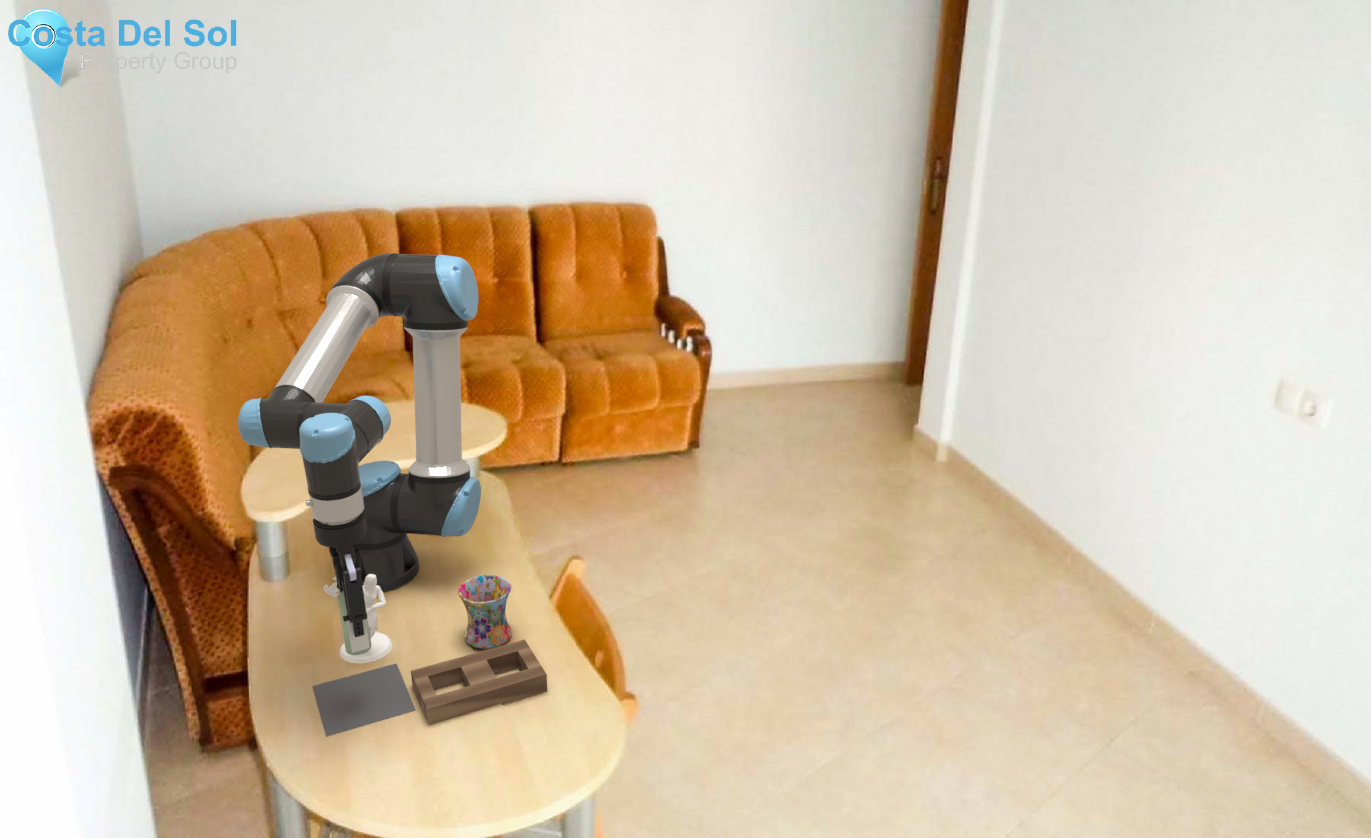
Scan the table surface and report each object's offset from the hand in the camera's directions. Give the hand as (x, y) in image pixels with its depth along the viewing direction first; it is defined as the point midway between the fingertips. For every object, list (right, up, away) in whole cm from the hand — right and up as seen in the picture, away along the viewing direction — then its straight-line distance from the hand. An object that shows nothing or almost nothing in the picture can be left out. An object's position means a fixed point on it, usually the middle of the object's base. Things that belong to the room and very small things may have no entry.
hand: (357, 640), depth 159 cm
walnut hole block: (+18, -10, +8) cm, 22 cm away
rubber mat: (-1, -11, +5) cm, 12 cm away
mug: (+16, -4, +23) cm, 28 cm away
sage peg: (0, -1, +1) cm, 1 cm away
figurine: (-5, -6, +18) cm, 19 cm away
